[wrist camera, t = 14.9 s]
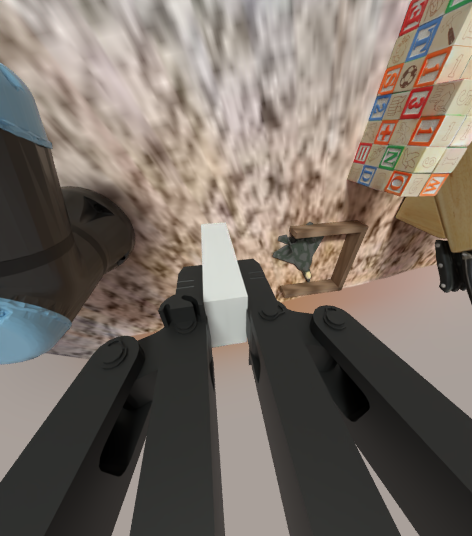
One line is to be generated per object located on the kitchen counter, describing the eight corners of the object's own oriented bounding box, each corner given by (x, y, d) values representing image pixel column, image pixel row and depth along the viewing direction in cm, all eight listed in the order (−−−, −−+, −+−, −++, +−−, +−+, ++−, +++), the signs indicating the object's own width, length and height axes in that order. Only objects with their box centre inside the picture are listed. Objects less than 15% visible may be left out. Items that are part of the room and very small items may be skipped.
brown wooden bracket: (279, 289, 51) (284, 298, 48) (290, 226, 40) (296, 233, 37) (333, 282, 53) (341, 290, 50) (357, 220, 42) (368, 226, 39)
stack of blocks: (408, -1, 24) (557, -96, 14) (448, 6, 25) (614, -79, 15) (346, 180, 36) (400, 197, 26) (373, 180, 37) (437, 197, 27)
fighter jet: (285, 290, 52) (291, 301, 49) (266, 240, 42) (271, 250, 38) (330, 271, 51) (339, 280, 47) (321, 214, 40) (332, 221, 37)
